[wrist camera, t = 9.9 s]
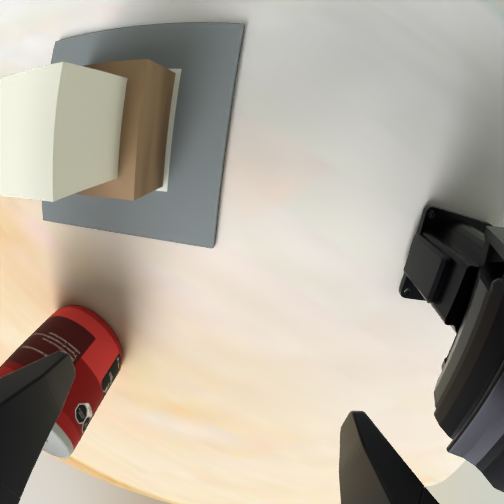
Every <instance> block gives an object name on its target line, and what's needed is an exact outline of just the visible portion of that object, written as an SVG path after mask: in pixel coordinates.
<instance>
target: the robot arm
mask: <svg viewBox="0 0 504 504" xmlns="http://www.w3.org/2000/svg"><path fill="white" fill-rule="evenodd" d="M430 211H432V215H431V216H430V217H429V212H430ZM404 272H405V273H404V276H403V279H402V282H401V284H400V287H399V293H400V294H401V296H402V297H404V298H409V299H417V300H425V301H427V302H428V303H430V304H431V305H432V306H433V308H434V309H435V311H436V312H437V313H438V315H439V316H440V317H441V319H442V320H443V322H444V323H445V324H446V325H451V327H452V328H453V330H454V331H455V332H456V337H455V339H454V342H453V344H452V347H451V349H450V351H449V354H448V356H447V358H445V359H444V362H443V364H442V372H441V374H440V376H439V378H438V380H437V384H436V387H435V391H434V398H435V407H436V410H435V412H434V416H435V418H436V420H437V422H438V424H439V425H440V427H441V428H442V429H443V430H444V431H445V433H446V434H447V435H448V436H449V437H450V438H451V439H453V440H452V442H451V443H450V444H449V446H448V447H447V451H448V452H449V453H452V454H454V455H457V456H460V457H462V458H464V459H466V460H467V461H469V462H470V463H472V464H473V465H475V466H476V467H477V468H478V469H479V470H480V471H481V472H482V473H483V475H484V476H485V477H486V478H487V480H488V481H489V482H490V483H491V484H492V486H493V487H494V488H496V489H498V490H500V491H502V492H504V227H495V226H492V225H491V224H489V223H487V222H484V221H481V220H478V219H475V218H471V217H468V216H465V215H462V214H459V213H455V212H452V211H449V210H445V209H442V208H438V207H435V206H431V205H428V206H426V207H425V208H424V210H423V214H422V217H421V221H420V225H419V228H418V232H417V234H416V235H415V236H414V239H413V242H412V246H411V249H410V252H409V255H408V258H407V262H406V265H405V268H404ZM407 288H408V290H407V291H406V292H404V290H405V289H407ZM74 378H75V368H74V365H73V361H72V358H71V356H70V354H68V353H66V352H63V351H57V352H55V353H52V354H50V355H48V356H46V357H44V358H42V359H40V360H37V361H35V362H33V363H31V364H29V365H27V366H25V367H22V368H20V369H18V370H16V371H14V372H12V373H9V374H7V375H5V376H3V377H1V378H0V504H18V503H19V501H20V497H21V495H22V493H23V491H24V488H25V486H26V483H27V481H28V479H29V477H30V474H31V472H32V470H33V468H34V465H35V463H36V461H37V459H38V457H39V455H40V453H41V451H42V448H43V446H44V444H45V442H46V440H47V438H48V436H49V434H50V432H51V430H52V428H53V426H54V424H55V422H56V420H57V418H58V417H59V414H60V412H61V410H62V408H63V405H64V403H65V400H66V398H67V395H68V393H69V390H70V388H71V385H72V383H73V381H74ZM339 480H340V494H341V504H439V503H438V502H437V500H436V499H434V497H433V496H432V495H431V494H430V492H429V491H428V490H427V489H426V488H425V487H424V485H423V484H422V483H421V481H420V480H419V479H418V478H417V477H416V475H415V474H414V473H413V472H412V470H411V469H410V468H409V467H408V465H407V464H406V463H405V462H404V461H403V459H402V458H401V457H400V456H399V454H398V453H397V452H396V451H395V449H394V448H393V447H392V446H391V444H390V443H389V442H388V441H387V439H386V438H385V437H384V436H383V434H382V433H381V432H380V431H379V429H378V428H377V427H376V426H375V424H374V423H373V422H372V421H371V419H370V418H369V417H368V416H367V414H366V413H365V412H363V411H351V412H350V413H349V414H348V416H347V418H346V420H345V421H344V423H343V425H342V427H341V431H340V459H339Z"/></svg>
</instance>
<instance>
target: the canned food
mask: <svg viewBox="0 0 504 504" xmlns="http://www.w3.org/2000/svg"><path fill="white" fill-rule="evenodd" d="M57 351H63V352H66V353H68V354H70V356H71V358H72V361H73V365H74V368H75V378H74V381H73V383H72V385H71V388H70V390H69V393H68V395H67V398H66V400H65V403H64V405H63V408H62V410H61V412H60V414H59V417H58V418H57V420H56V422H55V424H54V426H53V428H52V430H51V432H50V434H49V436H48V438H47V440H46V442H45V444H44V446H43V448H42V450H44V451H46V452H47V453H49V454H52V455H54V456H57V457H60V458H69V456H70V455H71V454H72V453H73V451H74V449H75V447H76V446H77V444H78V442H79V441H80V439H81V437H82V435H83V433H84V432H85V430H86V428H87V426H88V424H89V423H90V421H91V419H92V417H93V416H94V414H95V412H96V410H97V408H98V407H99V405H100V403H101V402H102V400H103V398H104V396H105V395H106V393H107V391H108V389H109V388H110V386H111V384H112V383H113V381H114V379H115V378H116V376H117V374H118V373H119V371H120V368H121V364H122V359H123V354H122V348H121V345H120V343H119V340H118V338H117V337H116V335H115V333H114V332H113V330H112V329H111V328H110V327H109V325H108V324H107V323H106V322H105V321H104V320H103V319H102V318H100V317H99V316H98V315H97V314H95V313H94V312H92V311H91V310H89V309H87V308H85V307H82V306H78V305H69V306H65V307H62V308H60V309H58V310H57V311H56V312H55V313H54V314H52V315H51V316H50V317H49V318H48V319H47V320H46V321H45V322H44V323H43V324H42V325H41V326H40V327H39V328H38V329H37V330H36V331H35V332H34V333H33V334H32V335H31V336H30V337H29V338H28V339H27V340H26V341H25V342H24V343H23V344H22V345H21V346H20V347H19V348H18V349H17V350H16V351H15V352H14V353H13V354H12V355H11V356H10V357H9V358H8V359H7V360H6V361H5V362H4V363H3V365H2V366H1V367H0V378H1V377H3V376H5V375H7V374H9V373H12V372H14V371H16V370H18V369H20V368H22V367H25V366H27V365H29V364H31V363H33V362H35V361H37V360H40V359H42V358H44V357H46V356H48V355H50V354H52V353H55V352H57Z"/></svg>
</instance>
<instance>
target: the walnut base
mask: <svg viewBox="0 0 504 504" xmlns="http://www.w3.org/2000/svg"><path fill="white" fill-rule="evenodd" d="M84 67H88V68H92V69H96V70H100V71H103V72H107V73H111V74H114V75H118V76H121V77H125V78H128V79H127V85H126V92H125V100H124V107H123V116H122V125H121V135H120V147H119V162H118V178H117V179H114V180H111V181H108V182H105V183H102V184H99V185H97V186H94V187H91V188H88V189H85V190H83V191H80V192H77V193H75V194H79V195H89V196H98V197H107V198H115V199H124V200H132V201H134V200H136V199H138V198H140V197H142V196H144V195H146V194H148V193H150V192H152V191H154V190H157V189H159V188H161V187H163V177H164V165H165V153H166V143H167V134H168V125H169V117H170V109H171V102H172V94H173V88H174V81H175V75H176V73H174V72H172V71H171V70H169V69H167V68H165V67H163V66H161V65H159V64H157V63H155V62H153V61H151V60H149V59H139V60H125V61H115V62H106V63H98V64H90V65H84Z"/></svg>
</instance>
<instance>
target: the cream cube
mask: <svg viewBox="0 0 504 504" xmlns="http://www.w3.org/2000/svg"><path fill="white" fill-rule="evenodd" d="M127 79H128V78H125V77H121V76H118V75H114V74H111V73H107V72H103V71H100V70H96V69H92V68H88V67H84V66H80V65H75V64H71V63H66V62H60V63H55V64H50V65H46V66H42V67H38V68H34V69H30V70H27V71H23V72H20V73H16V74H13V75H10V76H6V77H3V78H0V196H8V197H17V198H25V199H34V200H42V201H50V202H54V201H57V200H59V199H62V198H64V197H67V196H69V195H72V194H75V193H77V192H80V191H83V190H85V189H88V188H91V187H94V186H97V185H99V184H102V183H105V182H108V181H111V180H114V179H117V178H118V162H119V147H120V135H121V125H122V116H123V107H124V100H125V92H126V85H127Z"/></svg>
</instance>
